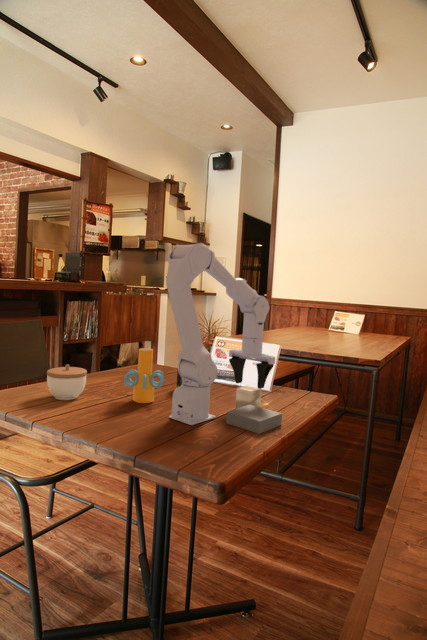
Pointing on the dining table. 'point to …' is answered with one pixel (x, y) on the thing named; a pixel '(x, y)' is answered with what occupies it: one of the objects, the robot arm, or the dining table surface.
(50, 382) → the lidded jar
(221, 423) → the dining table surface
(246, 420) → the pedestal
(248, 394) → the cream block
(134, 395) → the cylinder
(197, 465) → the dining table surface
